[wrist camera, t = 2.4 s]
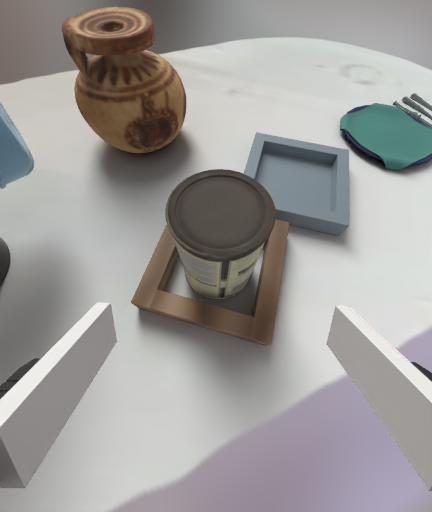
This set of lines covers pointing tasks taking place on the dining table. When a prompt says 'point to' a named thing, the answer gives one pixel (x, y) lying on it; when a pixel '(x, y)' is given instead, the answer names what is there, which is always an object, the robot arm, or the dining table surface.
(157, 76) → the clay pot
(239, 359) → the dining table surface
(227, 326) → the wooden square frame
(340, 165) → the tray
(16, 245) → the dining table surface
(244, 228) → the coffee can
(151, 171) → the dining table surface
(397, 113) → the cutlery set
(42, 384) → the robot arm
